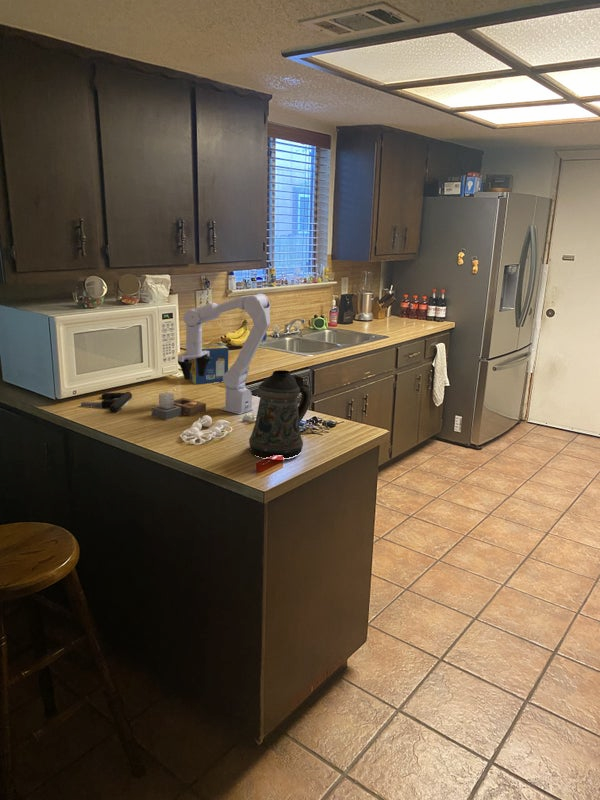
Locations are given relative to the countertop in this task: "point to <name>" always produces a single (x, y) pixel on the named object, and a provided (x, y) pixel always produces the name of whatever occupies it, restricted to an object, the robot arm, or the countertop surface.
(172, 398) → the steel peg
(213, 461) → the countertop surface
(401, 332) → the countertop surface
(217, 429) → the tangled rod sculpture
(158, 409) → the grey square frame
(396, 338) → the countertop surface
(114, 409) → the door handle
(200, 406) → the socket block
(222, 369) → the protein box
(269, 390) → the beer stein
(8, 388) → the countertop surface
